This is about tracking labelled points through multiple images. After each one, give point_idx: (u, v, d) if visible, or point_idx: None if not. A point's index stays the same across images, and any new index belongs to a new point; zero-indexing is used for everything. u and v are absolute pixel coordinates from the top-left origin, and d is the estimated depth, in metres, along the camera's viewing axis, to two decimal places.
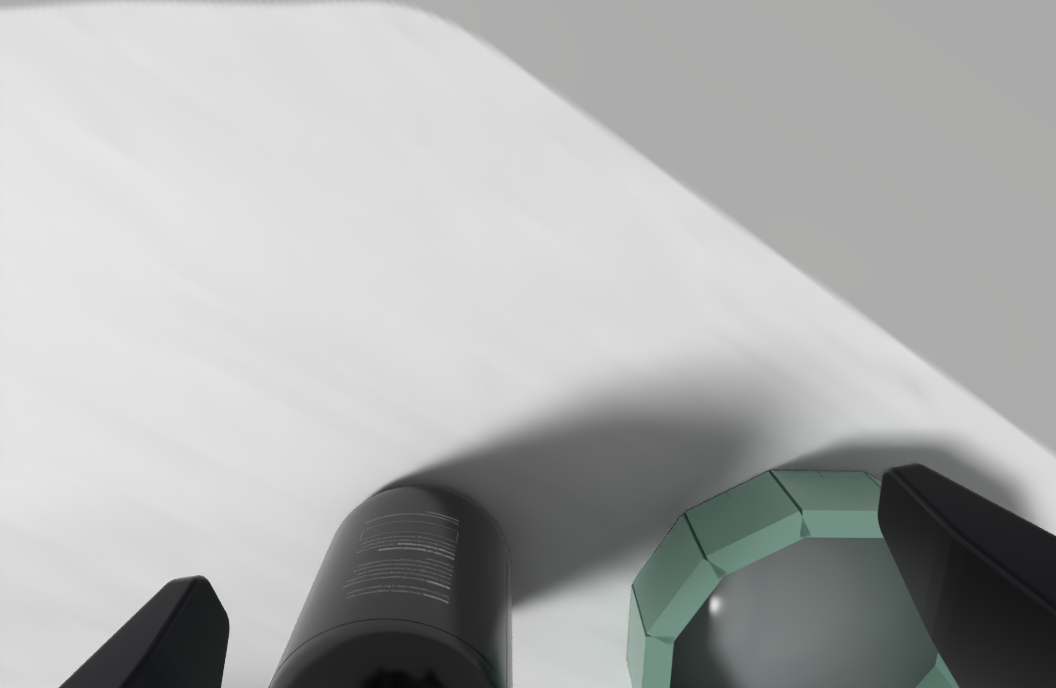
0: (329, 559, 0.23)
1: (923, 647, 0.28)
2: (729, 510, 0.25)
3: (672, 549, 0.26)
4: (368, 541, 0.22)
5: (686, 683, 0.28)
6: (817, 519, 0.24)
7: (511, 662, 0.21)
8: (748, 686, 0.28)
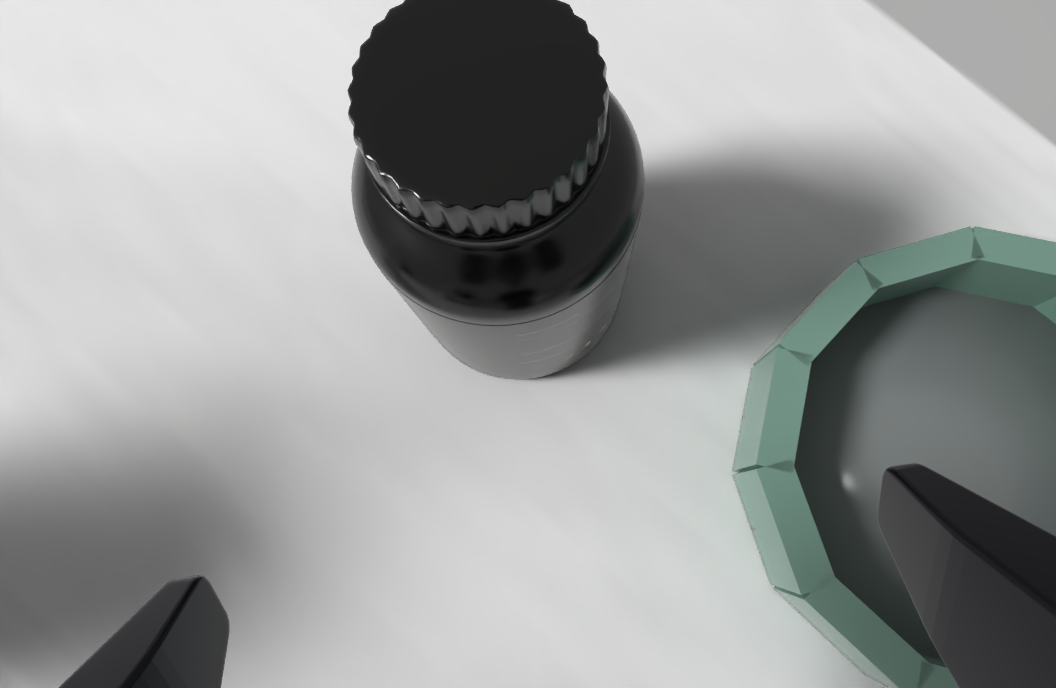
0: None
1: None
2: None
3: (809, 305, 0.23)
4: None
5: None
6: (992, 240, 0.21)
7: None
8: None
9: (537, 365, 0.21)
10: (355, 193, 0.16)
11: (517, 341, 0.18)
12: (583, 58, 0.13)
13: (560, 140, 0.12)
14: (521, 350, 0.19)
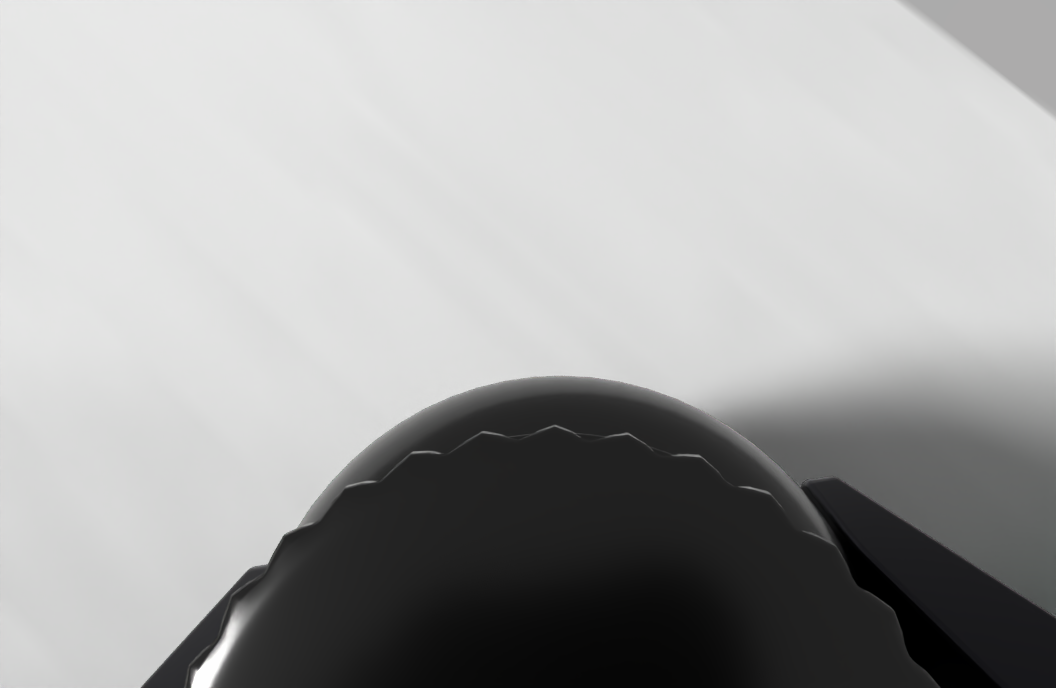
0: None
1: None
2: None
3: None
4: None
5: None
6: None
7: None
8: None
9: None
10: None
11: None
12: None
13: None
14: None
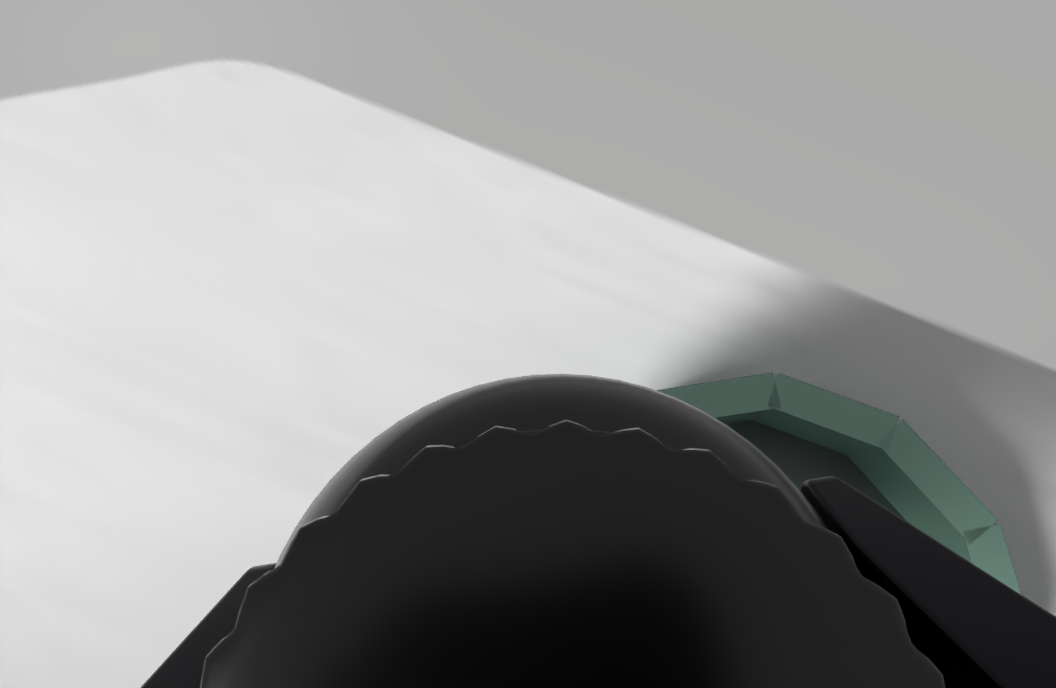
0: None
1: None
2: None
3: None
4: None
5: None
6: None
7: None
8: None
9: None
10: None
11: None
12: None
13: None
14: None
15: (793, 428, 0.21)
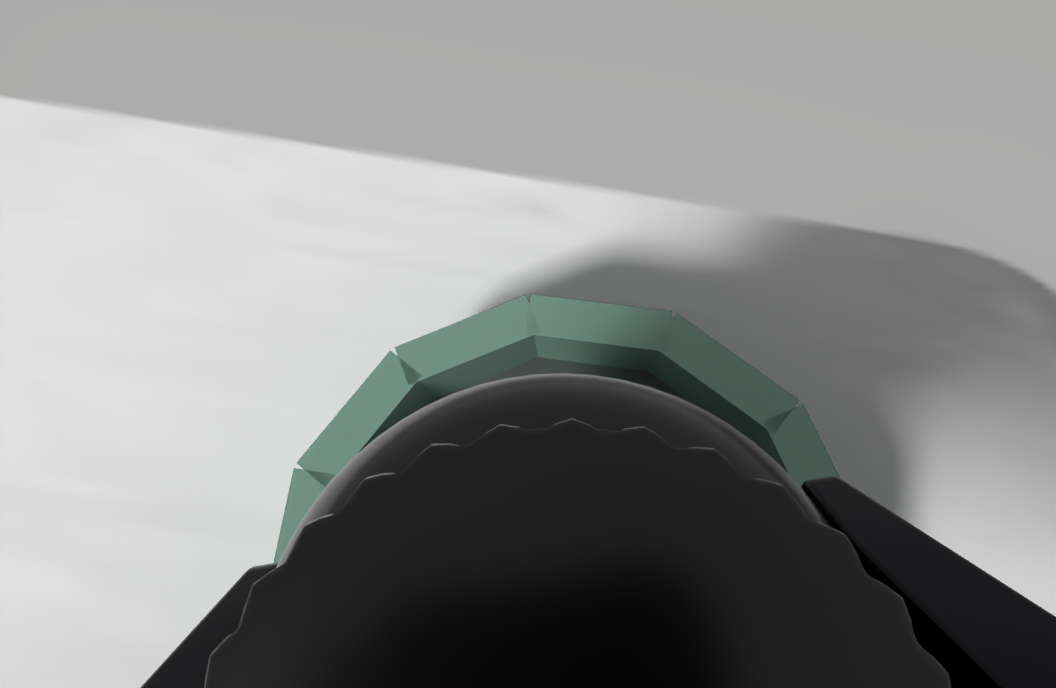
0: None
1: None
2: None
3: None
4: None
5: None
6: (419, 352, 0.17)
7: None
8: None
9: None
10: None
11: None
12: None
13: None
14: None
15: (576, 354, 0.19)
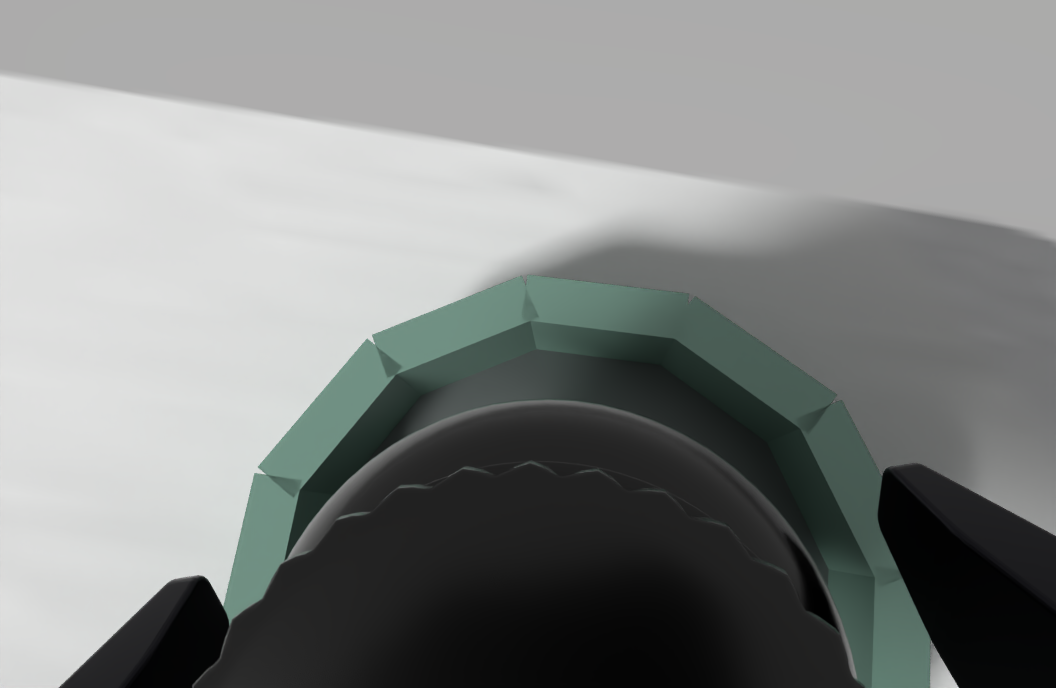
0: None
1: None
2: None
3: None
4: None
5: None
6: (400, 340, 0.15)
7: None
8: None
9: None
10: None
11: None
12: None
13: None
14: None
15: (579, 344, 0.16)
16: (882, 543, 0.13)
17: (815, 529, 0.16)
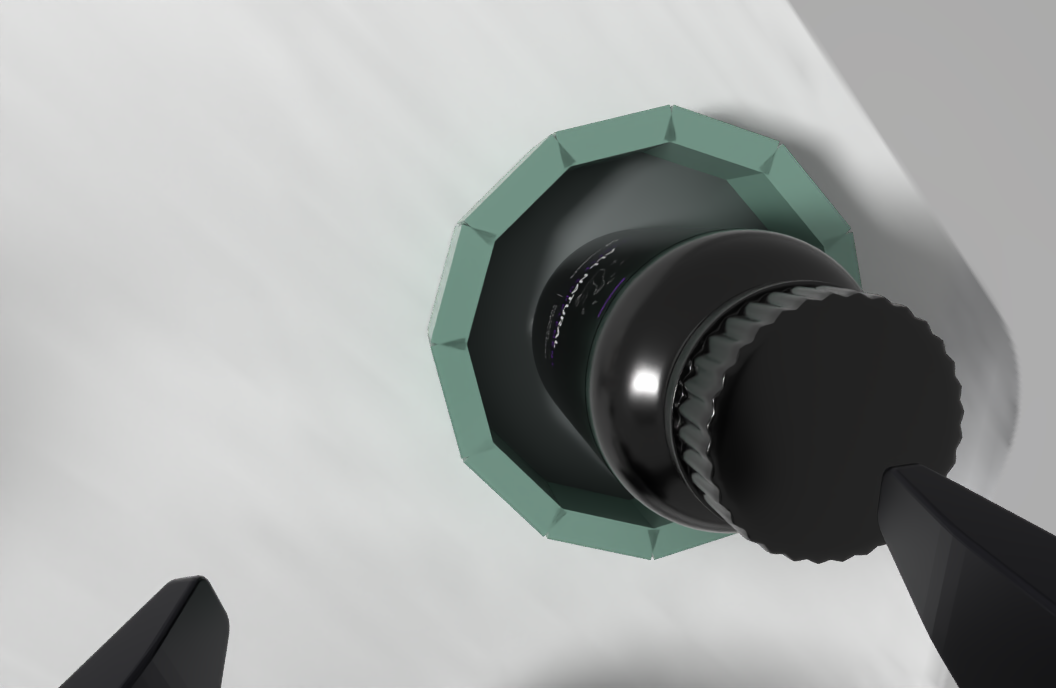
0: None
1: None
2: None
3: (514, 167, 0.22)
4: None
5: (493, 370, 0.23)
6: (687, 122, 0.20)
7: None
8: None
9: None
10: (626, 324, 0.14)
11: None
12: None
13: (860, 532, 0.12)
14: None
15: (759, 201, 0.23)
16: None
17: None
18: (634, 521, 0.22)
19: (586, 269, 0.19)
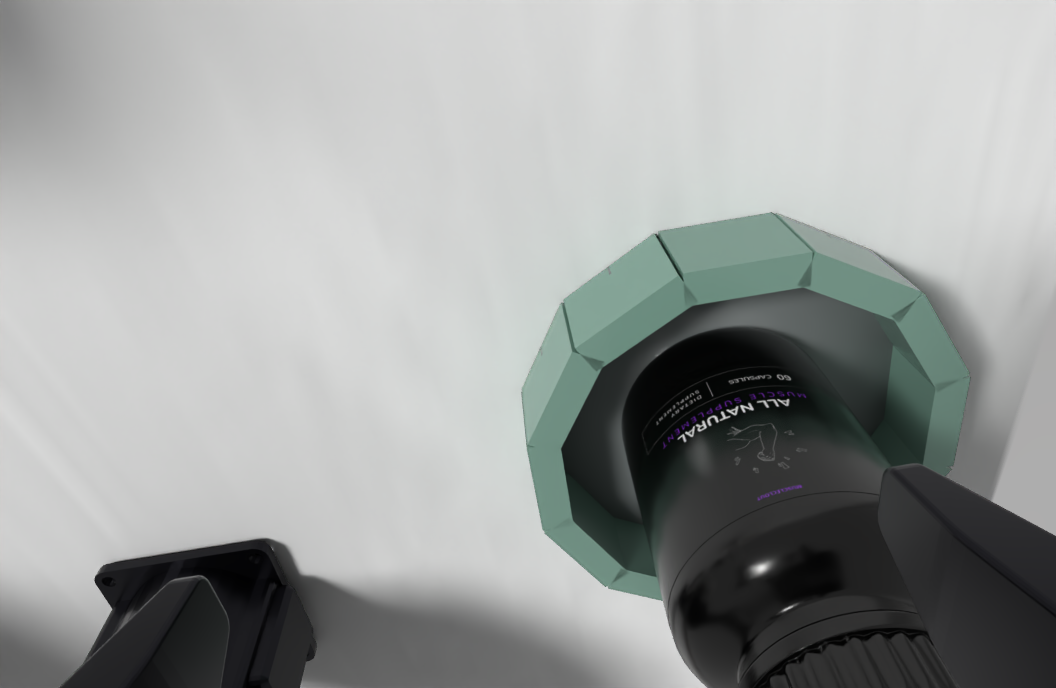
0: (840, 400, 0.20)
1: None
2: (833, 243, 0.20)
3: (747, 230, 0.20)
4: None
5: None
6: (920, 314, 0.20)
7: None
8: None
9: None
10: (784, 544, 0.15)
11: None
12: None
13: None
14: None
15: (904, 387, 0.23)
16: None
17: None
18: (615, 555, 0.24)
19: (751, 397, 0.19)
